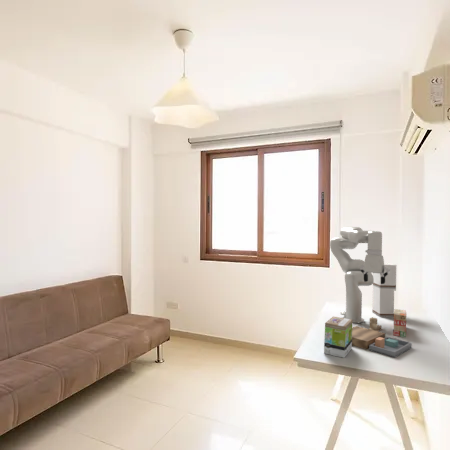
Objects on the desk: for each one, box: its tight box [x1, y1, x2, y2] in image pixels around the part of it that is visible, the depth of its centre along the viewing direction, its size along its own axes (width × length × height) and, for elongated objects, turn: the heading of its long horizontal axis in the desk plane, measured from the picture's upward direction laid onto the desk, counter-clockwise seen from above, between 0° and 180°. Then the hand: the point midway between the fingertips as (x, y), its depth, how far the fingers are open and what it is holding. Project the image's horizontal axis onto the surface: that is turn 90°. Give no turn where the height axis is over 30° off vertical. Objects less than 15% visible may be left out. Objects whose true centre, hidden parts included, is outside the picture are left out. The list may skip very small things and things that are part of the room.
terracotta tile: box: [375, 337, 385, 348], centre depth 166 cm, size 4×4×2 cm
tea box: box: [323, 316, 353, 359], centre depth 162 cm, size 15×10×15 cm, turn 148°
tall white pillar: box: [371, 262, 397, 318], centre depth 230 cm, size 11×11×35 cm
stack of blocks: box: [393, 308, 407, 338], centre depth 195 cm, size 21×6×12 cm, turn 152°
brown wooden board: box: [352, 325, 386, 350], centre depth 177 cm, size 16×20×4 cm
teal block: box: [385, 338, 398, 348], centre depth 169 cm, size 4×4×2 cm
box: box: [368, 336, 413, 359], centre depth 166 cm, size 12×20×2 cm, turn 131°
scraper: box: [368, 316, 383, 332], centre depth 192 cm, size 3×16×8 cm, turn 130°
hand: (374, 282), depth 192 cm, fingers open, 9 cm apart
